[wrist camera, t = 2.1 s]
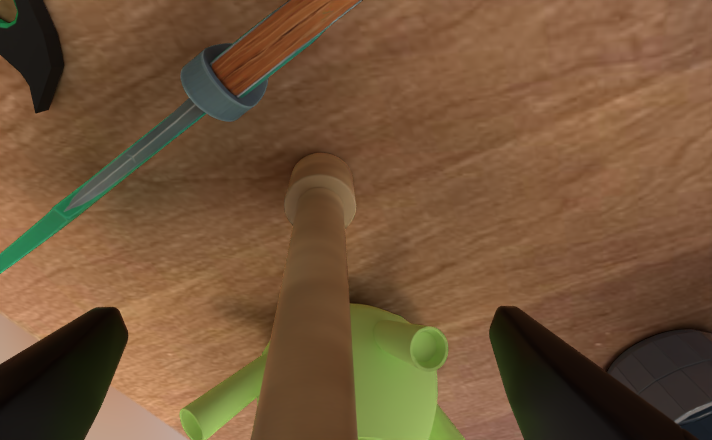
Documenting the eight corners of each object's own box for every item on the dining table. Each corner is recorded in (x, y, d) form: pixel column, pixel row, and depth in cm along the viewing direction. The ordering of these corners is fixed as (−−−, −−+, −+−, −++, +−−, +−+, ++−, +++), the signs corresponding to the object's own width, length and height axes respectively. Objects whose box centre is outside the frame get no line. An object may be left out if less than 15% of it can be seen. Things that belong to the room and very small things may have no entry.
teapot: (298, 408, 24) (283, 577, 16) (210, 298, 18) (128, 484, 11) (450, 367, 22) (508, 531, 15) (408, 235, 17) (468, 397, 9)
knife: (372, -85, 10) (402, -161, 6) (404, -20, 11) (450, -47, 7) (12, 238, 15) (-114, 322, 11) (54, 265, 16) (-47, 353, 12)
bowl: (744, 324, 22) (832, 387, 18) (678, 396, 26) (738, 461, 22) (633, 325, 21) (699, 391, 17) (582, 399, 25) (627, 466, 22)
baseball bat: (354, 153, 14) (432, 602, 3) (351, 209, 16) (398, 658, 5) (289, 150, 14) (126, 625, 3) (292, 208, 16) (188, 677, 4)
